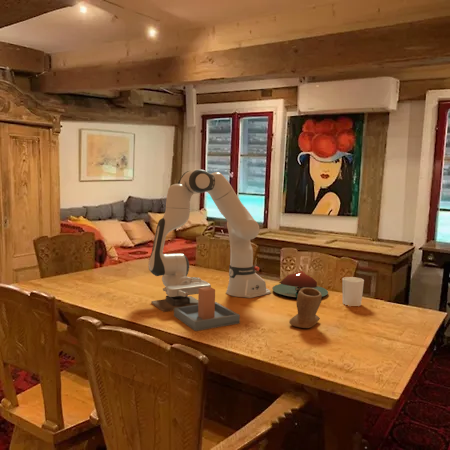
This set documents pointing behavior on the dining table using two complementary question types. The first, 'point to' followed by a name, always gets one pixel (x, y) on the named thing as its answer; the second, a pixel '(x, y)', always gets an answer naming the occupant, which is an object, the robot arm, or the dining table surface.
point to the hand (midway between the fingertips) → (196, 293)
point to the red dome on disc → (297, 285)
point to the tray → (196, 323)
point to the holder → (174, 302)
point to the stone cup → (307, 308)
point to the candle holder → (352, 291)
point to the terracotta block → (206, 303)
